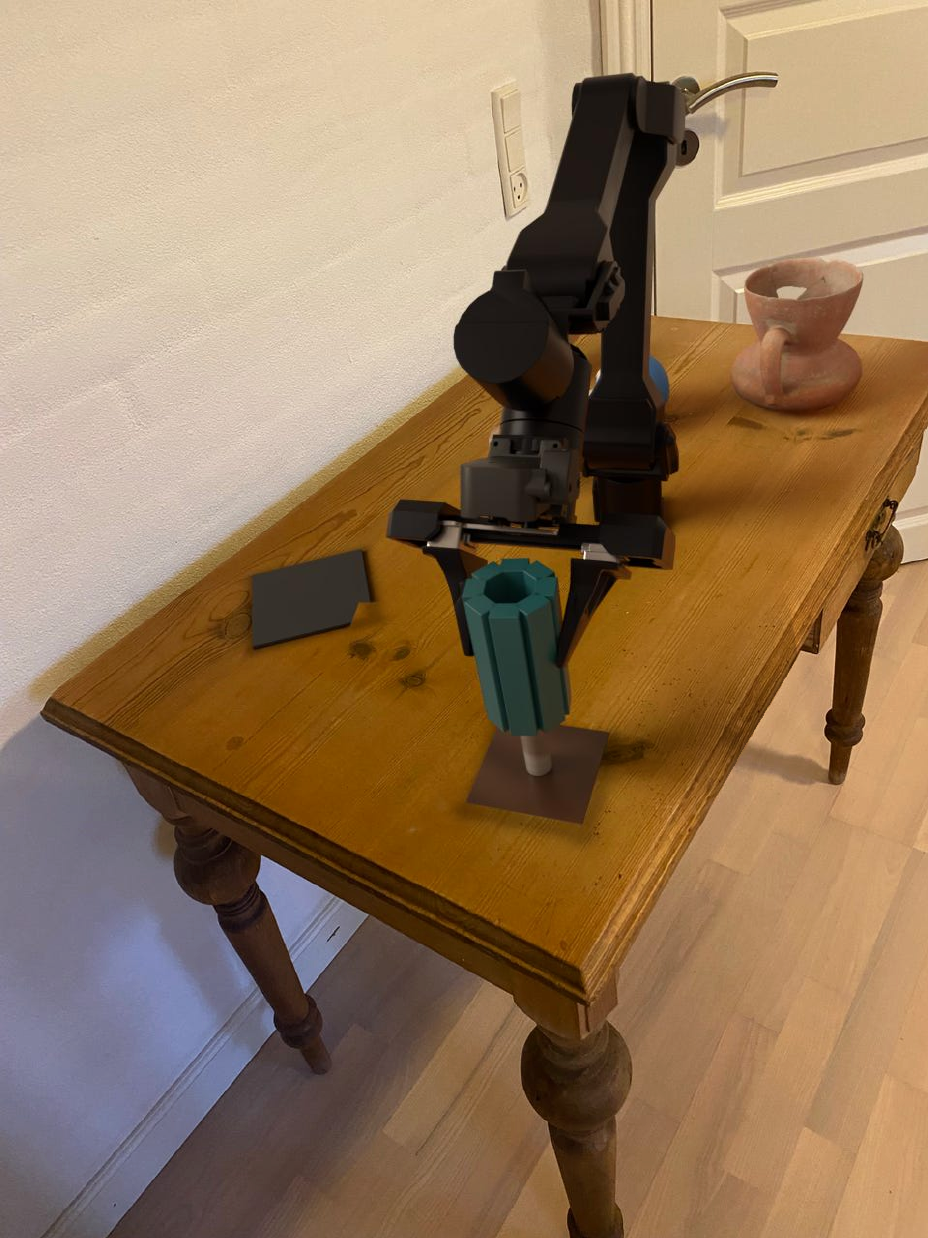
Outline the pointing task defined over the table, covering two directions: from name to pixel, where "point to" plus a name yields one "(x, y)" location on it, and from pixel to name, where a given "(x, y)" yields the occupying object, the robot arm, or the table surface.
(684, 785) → the table surface
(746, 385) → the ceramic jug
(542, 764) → the peg stand
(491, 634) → the sleeve
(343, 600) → the mat
